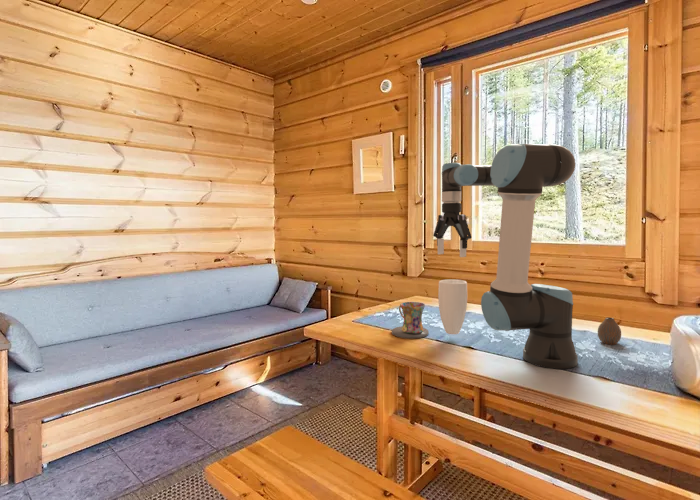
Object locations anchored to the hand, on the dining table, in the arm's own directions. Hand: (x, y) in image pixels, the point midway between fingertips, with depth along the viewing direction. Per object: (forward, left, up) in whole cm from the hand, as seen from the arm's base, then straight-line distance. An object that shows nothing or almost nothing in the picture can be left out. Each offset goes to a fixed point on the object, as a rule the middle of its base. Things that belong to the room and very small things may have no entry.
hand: (451, 255), depth 164 cm
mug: (-2, +21, -28) cm, 35 cm away
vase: (-44, -33, -29) cm, 62 cm away
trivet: (-2, +21, -29) cm, 36 cm away
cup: (-16, +13, -29) cm, 36 cm away
